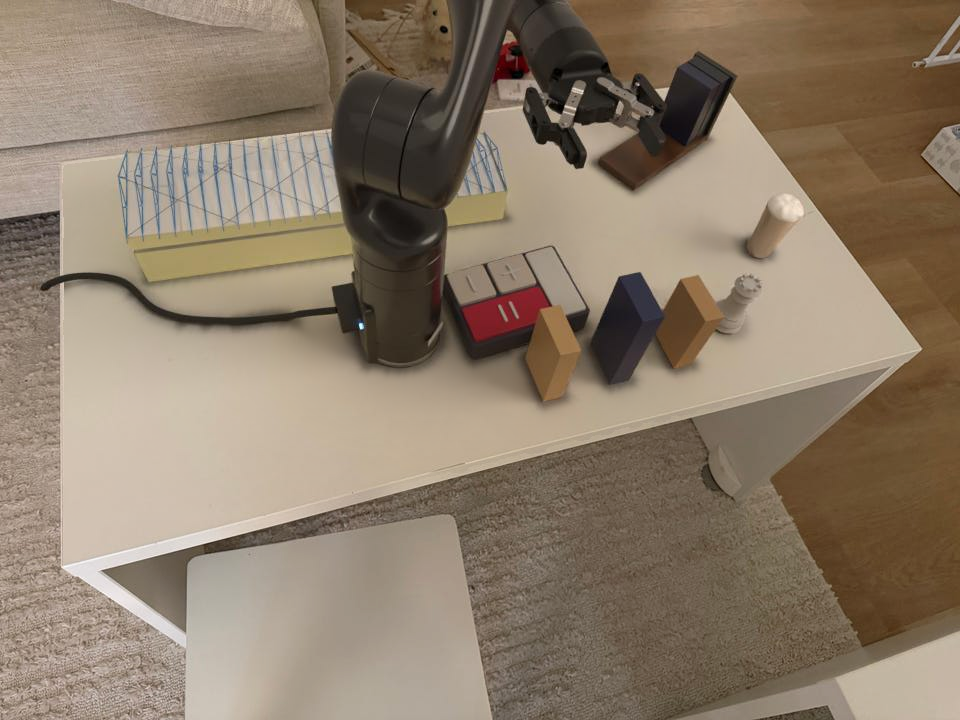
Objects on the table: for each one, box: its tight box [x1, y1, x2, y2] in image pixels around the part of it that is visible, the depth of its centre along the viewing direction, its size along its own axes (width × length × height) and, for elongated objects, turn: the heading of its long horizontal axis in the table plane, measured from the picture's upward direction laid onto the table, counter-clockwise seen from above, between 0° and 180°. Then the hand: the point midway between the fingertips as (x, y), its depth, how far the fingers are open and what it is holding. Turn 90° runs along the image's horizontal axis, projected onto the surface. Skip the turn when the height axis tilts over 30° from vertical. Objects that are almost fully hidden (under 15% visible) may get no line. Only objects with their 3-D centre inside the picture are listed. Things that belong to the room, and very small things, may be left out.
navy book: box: [589, 271, 665, 386], centre depth 74 cm, size 3×6×13 cm, turn 18°
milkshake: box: [745, 192, 815, 259], centre depth 87 cm, size 5×5×10 cm
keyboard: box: [117, 129, 509, 283], centre depth 83 cm, size 45×15×10 cm, turn 105°
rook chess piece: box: [715, 273, 763, 334], centre depth 81 cm, size 4×4×8 cm
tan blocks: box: [524, 274, 724, 402], centre depth 75 cm, size 19×6×10 cm, turn 108°
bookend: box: [597, 50, 738, 192], centre depth 95 cm, size 18×7×11 cm, turn 133°
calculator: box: [443, 245, 591, 360], centre depth 80 cm, size 11×4×15 cm
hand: (621, 156), depth 66 cm, fingers open, 8 cm apart
